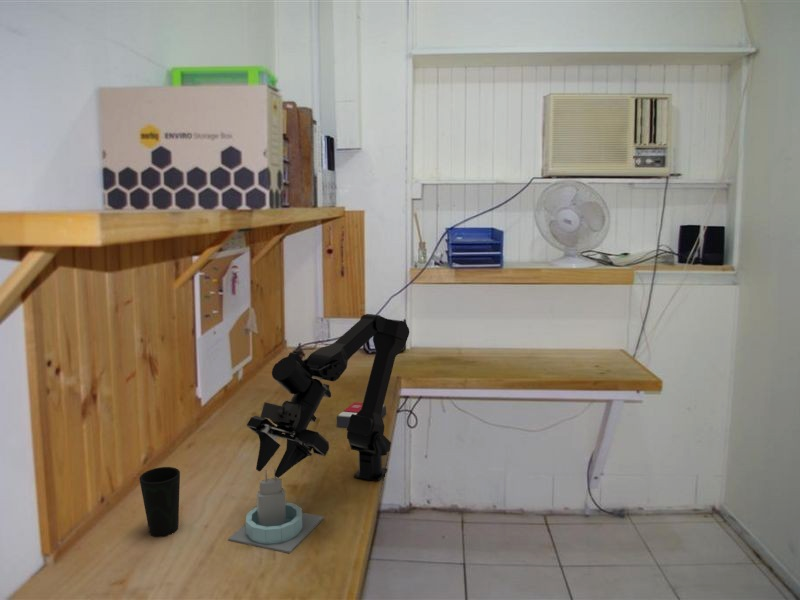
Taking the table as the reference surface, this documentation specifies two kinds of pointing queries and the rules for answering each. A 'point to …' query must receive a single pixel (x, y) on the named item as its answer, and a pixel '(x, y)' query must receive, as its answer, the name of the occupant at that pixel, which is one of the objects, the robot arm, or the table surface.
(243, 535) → the mat
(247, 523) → the bowl
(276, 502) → the power adapter
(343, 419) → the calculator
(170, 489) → the cup
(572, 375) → the table surface
